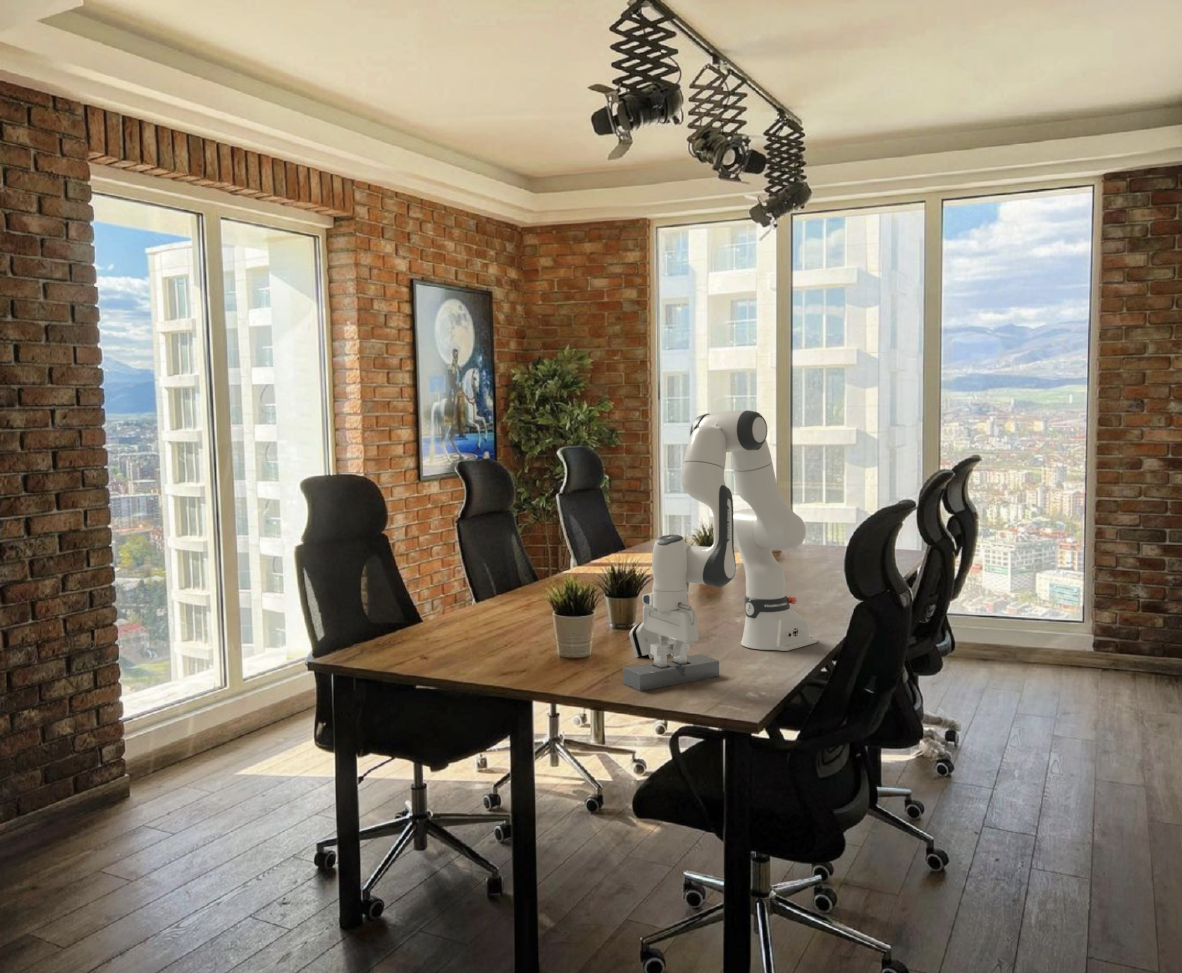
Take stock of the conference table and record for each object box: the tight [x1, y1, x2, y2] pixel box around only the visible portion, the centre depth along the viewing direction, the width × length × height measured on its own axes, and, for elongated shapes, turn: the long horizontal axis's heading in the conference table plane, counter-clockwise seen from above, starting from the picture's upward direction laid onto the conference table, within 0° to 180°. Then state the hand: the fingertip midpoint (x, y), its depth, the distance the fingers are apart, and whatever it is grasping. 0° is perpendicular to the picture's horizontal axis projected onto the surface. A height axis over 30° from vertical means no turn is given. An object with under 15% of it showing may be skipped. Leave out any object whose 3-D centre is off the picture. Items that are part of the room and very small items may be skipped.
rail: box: [622, 654, 720, 692], centre depth 248 cm, size 24×8×4 cm, turn 119°
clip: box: [650, 641, 691, 669], centre depth 248 cm, size 10×3×8 cm, turn 119°
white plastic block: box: [628, 620, 673, 660], centre depth 277 cm, size 17×5×10 cm, turn 152°
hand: (670, 654), depth 247 cm, fingers closed on clip, 3 cm apart
